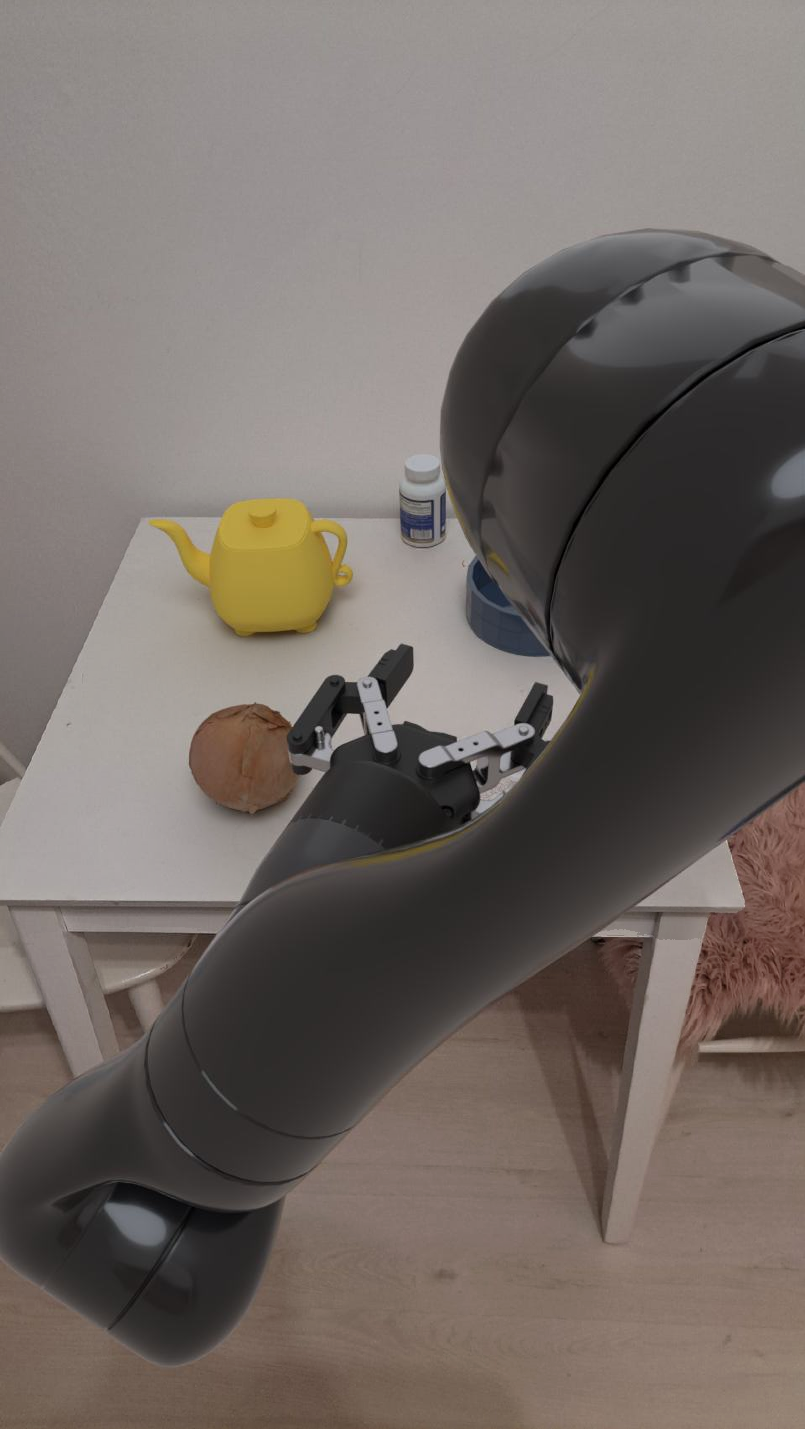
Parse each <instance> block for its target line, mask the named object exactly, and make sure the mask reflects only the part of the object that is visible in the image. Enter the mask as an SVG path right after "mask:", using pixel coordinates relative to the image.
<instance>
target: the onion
mask: <svg viewBox="0 0 805 1429" xmlns="http://www.w3.org/2000/svg"><path fill="white" fill-rule="evenodd" d="M292 727H293V726H292V723H291V721H288V720H287V719H286V718H285V717H284V716H283V715H282V714H281V712H280V711H278V710H273V709H271V707H269V706H268V705H265V704H263V703H257V702H256V701H254V702H253V703H251V704H250V703H248V704H247V703H243V704H237V705H233V706H229V707H226V708H222V709H220V710H218V711H214V712H213V713H211V714H210V715H208V716H207V717H206V718H205V719H204V720H203V721H202V722H201V723H200V724H199V725H198V727H197V729H196V730H195V732H194V734H193V736H192V739H191V742H190V746H189V752H188V766H189V769H190V773H191V775H192V777H193V779H194V781H195V783H196V785H197V786H198V787H199V788H200V790H201V791H202V792H203V793H204V794H205V795H206V796H207V797H209V798H210V799H211V800H213V801H214V802H215V803H216V805H217V804H219V805H221V806H223V807H226V808H228V809H232V810H234V811H240V812H241V813H242V814H245V813H248V812H249V814H251V815H253V814H255V813H256V811H259V810H262V809H265V808H268V807H270V806H272V805H278V804H279V803H281V802H283V801H284V800H286V799H287V798H289V797H290V796H291V792H292V791H293V787H294V786H295V783H296V782H297V780H298V778H299V776H300V775H297V774H295V773H293V771H292V770H291V763H290V759H289V753H288V745H287V739H286V737H287V734H288V733H289V731H290V730H291V729H292Z"/></svg>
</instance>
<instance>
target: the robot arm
mask: <svg viewBox="0 0 805 1429" xmlns="http://www.w3.org/2000/svg"><path fill="white" fill-rule="evenodd" d="M439 413H440V414H439V419H440V420H439V452H440V461H441V462H440V464H441V470H442V474H443V478H444V480H445V484H446V491H447V493H448V496H449V500H450V502H451V506H452V508H453V511H454V512H453V513H454V515H455V517H456V519H457V521H458V523H459V525H460V528H461V531H462V533H463V535H464V538H465V539H466V541H467V543H468V545H469V546H470V548H471V550H472V551H473V553H474V555H475V556H477V558H478V559H479V561H480V562H481V564H482V565H483V567H484V569H485V570H486V572H487V573H488V575H489V576H490V578H491V579H492V581H493V582H494V583H495V584H496V585H497V586H498V587H499V588H500V589H501V591H502V592H503V594H504V595H505V597H506V598H507V600H508V601H509V602H510V603H511V605H512V606H513V607H514V609H515V610H516V611H517V613H518V614H519V615H520V616H521V618H522V619H523V620H524V622H525V623H526V624H527V625H528V627H529V628H530V629H531V631H532V632H533V633H534V635H535V636H536V637H537V638H538V640H539V641H540V642H541V644H542V645H543V646H544V648H545V649H546V650H547V651H548V653H549V654H550V657H551V658H552V660H553V661H554V662H555V663H556V664H557V666H558V667H559V668H560V670H561V671H562V672H563V673H564V675H565V676H566V678H567V679H568V681H569V682H570V683H571V684H572V686H573V687H574V689H575V690H576V691H577V693H578V694H579V696H578V698H577V700H576V702H575V704H574V705H573V707H572V709H571V711H570V712H569V714H568V715H567V716H566V718H565V720H564V721H563V722H562V724H561V725H560V727H559V728H558V729H557V731H556V732H555V734H554V735H553V736H552V737H551V739H550V740H544V739H543V738H544V735H545V733H546V731H547V729H548V728H549V725H550V724H551V722H552V718H553V717H552V716H553V708H554V695H552V694H549V693H548V689H549V685H548V684H544V683H541V682H538V681H535V682H534V683H533V686H532V687H531V689H530V691H529V693H528V694H527V696H526V698H525V699H524V701H523V704H522V705H521V707H520V708H519V711H518V712H517V714H516V716H515V718H514V720H513V721H514V722H513V725H511V726H509V727H506V728H504V729H502V730H499V731H496V732H494V733H491V732H490V731H488V730H483V731H480V732H478V733H475V734H473V735H470V736H468V737H465V738H462V739H460V740H458V737H457V736H455V735H452V734H449V733H446V732H440V731H430V730H428V729H427V728H425V727H423V726H421V725H419V724H417V723H414V722H411V721H407V720H404V721H403V723H395V724H392V722H391V719H390V718H391V717H390V715H389V711H388V709H389V707H390V706H391V704H392V703H393V702H394V700H395V699H396V697H397V696H398V694H399V692H400V691H401V690H402V689H403V687H404V686H405V684H406V683H407V682H408V680H409V679H410V677H411V676H412V674H413V671H414V666H415V662H414V660H415V657H414V647H413V646H412V645H408V644H405V643H400V644H399V645H398V646H397V648H396V649H392V648H391V649H388V650H387V651H385V652H384V654H383V655H382V656H381V657H380V659H378V661H377V663H376V664H375V665H374V666H373V668H372V669H371V670H370V672H369V674H368V675H367V676H363V677H361V678H359V679H357V681H346V679H345V677H344V676H342V675H340V674H331V675H329V676H327V677H325V679H324V680H323V682H322V683H321V685H320V686H319V687H318V688H317V690H316V692H315V693H314V695H313V696H312V698H311V699H310V700H309V702H308V704H307V705H306V706H305V708H304V709H303V710H302V712H301V713H300V716H299V717H298V718H297V720H296V721H295V723H294V724H293V726H292V729H291V730H290V731H289V733H288V734H287V737H286V739H287V745H288V753H289V759H290V763H291V770H292V771H293V773H295V774H297V775H299V776H305V775H307V774H309V773H311V772H312V770H316V771H319V772H324V774H322V776H321V777H320V779H319V780H318V782H317V783H316V784H315V786H314V787H313V789H312V790H311V792H310V793H309V794H308V796H307V797H306V798H305V800H304V801H303V802H302V804H301V805H300V807H299V808H298V810H297V811H296V813H295V814H294V815H293V817H292V818H291V819H290V821H289V822H288V824H287V825H286V826H285V828H284V830H283V831H282V832H281V834H280V835H279V836H278V838H277V839H276V841H275V842H274V844H273V845H272V846H271V847H270V849H269V851H268V852H267V853H266V855H265V856H264V857H263V859H262V860H261V861H260V863H259V864H258V866H257V868H256V869H255V871H254V873H253V874H252V876H251V878H250V880H249V882H248V884H247V887H246V888H245V891H244V892H243V894H242V896H241V898H240V900H238V902H237V904H236V905H235V907H234V909H233V910H232V912H231V913H230V914H229V916H228V917H227V918H226V921H224V923H223V924H222V926H221V927H220V929H219V930H218V931H217V933H216V934H215V935H214V937H213V939H212V940H211V941H210V943H209V944H208V945H207V947H206V948H205V950H204V951H203V953H202V954H201V956H200V957H199V958H198V960H197V961H196V963H195V964H194V966H193V967H192V969H191V970H190V971H189V973H188V974H187V976H186V977H185V979H184V980H183V981H182V983H181V984H180V985H179V987H178V988H177V989H176V991H175V993H174V994H173V995H172V996H171V998H170V999H169V1001H168V1002H167V1003H166V1005H165V1006H164V1008H163V1009H162V1011H161V1012H160V1014H159V1015H158V1016H157V1017H156V1019H155V1020H154V1021H153V1023H152V1024H151V1026H149V1028H148V1029H147V1030H146V1032H144V1033H143V1034H142V1035H141V1036H140V1037H139V1038H137V1040H135V1041H133V1042H132V1043H131V1044H130V1045H128V1046H126V1047H125V1048H124V1049H122V1050H120V1051H119V1052H117V1053H115V1054H113V1055H111V1056H110V1057H109V1058H106V1059H104V1060H103V1061H101V1062H100V1063H97V1064H95V1065H94V1066H93V1067H91V1068H88V1070H86V1071H85V1072H82V1073H81V1074H80V1075H78V1076H77V1077H75V1078H73V1079H72V1080H71V1081H69V1082H68V1083H66V1084H65V1085H64V1086H62V1087H60V1089H58V1090H57V1091H56V1092H54V1093H53V1094H52V1095H51V1096H49V1097H48V1098H46V1100H44V1102H42V1103H41V1104H40V1105H39V1106H37V1108H36V1109H34V1110H33V1112H32V1113H31V1114H30V1115H29V1116H27V1117H26V1119H25V1120H24V1121H23V1122H22V1123H21V1124H20V1125H19V1127H18V1128H17V1129H16V1130H15V1131H14V1132H13V1134H12V1135H11V1137H10V1138H9V1140H8V1141H7V1142H6V1143H5V1145H4V1147H3V1148H2V1150H1V1151H0V1260H1V1261H2V1262H3V1264H5V1265H6V1266H7V1267H8V1268H9V1269H11V1270H12V1271H13V1272H14V1273H15V1274H17V1275H19V1276H20V1277H22V1278H23V1279H25V1281H27V1282H29V1283H30V1284H31V1285H33V1286H35V1287H36V1288H38V1289H41V1291H42V1292H44V1293H45V1294H46V1295H48V1296H49V1297H51V1298H53V1299H54V1300H55V1301H57V1302H58V1303H60V1304H61V1305H62V1306H65V1307H66V1308H67V1309H69V1310H70V1311H72V1312H73V1313H75V1314H77V1315H78V1316H79V1317H81V1318H82V1319H84V1320H85V1321H87V1322H88V1323H90V1324H91V1325H93V1326H94V1327H95V1328H97V1329H99V1330H101V1331H104V1332H105V1334H106V1335H107V1336H108V1337H110V1338H111V1339H113V1340H114V1341H115V1342H117V1343H119V1344H120V1345H121V1346H123V1347H124V1348H125V1349H127V1350H128V1351H130V1352H132V1353H133V1354H134V1355H136V1356H138V1357H140V1358H141V1359H143V1360H144V1361H146V1362H148V1363H150V1364H152V1365H155V1366H157V1367H161V1368H176V1369H177V1368H180V1367H185V1366H189V1365H191V1364H193V1363H195V1362H197V1361H198V1360H201V1359H203V1358H205V1357H206V1356H207V1355H209V1354H210V1353H212V1352H213V1351H215V1349H217V1348H218V1347H220V1346H221V1345H222V1344H224V1342H226V1340H227V1339H228V1338H230V1337H231V1336H232V1334H233V1333H234V1332H235V1331H236V1329H237V1328H238V1327H239V1326H240V1325H241V1323H242V1322H243V1320H244V1319H245V1318H246V1316H247V1315H248V1313H249V1311H250V1309H251V1308H252V1306H253V1305H254V1303H255V1300H256V1298H257V1297H258V1294H259V1292H260V1290H261V1288H262V1285H263V1282H264V1280H265V1277H266V1274H267V1272H268V1268H269V1265H270V1261H271V1258H272V1255H273V1252H274V1248H275V1245H276V1241H277V1239H278V1233H279V1230H280V1224H281V1221H282V1216H283V1212H284V1207H285V1203H286V1198H287V1195H288V1194H289V1193H290V1192H292V1191H293V1190H294V1189H296V1188H297V1187H298V1186H299V1185H300V1184H301V1183H302V1182H303V1181H304V1180H305V1179H306V1178H308V1176H309V1175H311V1173H313V1171H314V1170H316V1168H317V1167H318V1166H319V1165H320V1164H321V1163H322V1162H323V1161H324V1160H325V1159H326V1158H327V1157H328V1156H329V1155H330V1154H331V1153H332V1152H333V1151H334V1149H336V1147H338V1146H339V1144H341V1142H342V1141H343V1140H344V1139H346V1137H348V1135H349V1134H350V1133H351V1132H352V1131H353V1130H354V1129H355V1128H356V1127H357V1126H358V1125H359V1124H360V1123H361V1122H362V1121H363V1120H364V1119H365V1118H367V1116H369V1114H370V1113H371V1112H372V1111H373V1109H375V1107H376V1106H377V1105H378V1104H379V1103H381V1101H382V1100H383V1099H384V1098H385V1097H386V1096H387V1095H388V1093H390V1091H391V1090H392V1089H393V1088H394V1087H396V1086H397V1085H398V1084H399V1083H400V1082H401V1081H402V1080H403V1079H404V1078H406V1077H407V1076H408V1075H409V1073H411V1072H412V1071H413V1070H414V1069H415V1068H416V1067H417V1066H418V1065H419V1064H421V1063H422V1062H423V1061H424V1060H425V1059H426V1058H427V1057H428V1056H430V1055H431V1054H432V1053H433V1052H434V1051H436V1050H437V1049H438V1048H439V1047H440V1046H442V1045H443V1044H444V1043H445V1042H447V1040H449V1039H450V1038H451V1037H452V1036H453V1035H455V1034H456V1033H458V1032H459V1031H460V1030H461V1029H463V1028H464V1027H465V1026H467V1025H468V1024H470V1023H471V1022H473V1020H475V1019H476V1018H477V1017H478V1016H480V1015H481V1014H483V1013H484V1012H485V1011H486V1010H488V1009H490V1008H491V1007H493V1006H494V1005H496V1004H497V1003H498V1002H500V1001H501V1000H502V999H504V998H505V997H507V996H508V995H510V994H512V993H513V992H515V991H516V990H517V989H518V988H520V987H522V985H524V984H526V983H527V982H528V981H530V980H531V979H533V978H534V977H535V976H537V975H539V974H540V973H542V972H543V971H545V970H546V969H549V967H550V966H552V965H553V964H555V963H557V962H558V961H559V960H561V959H563V958H564V957H565V956H567V955H568V954H569V953H571V952H572V951H574V950H575V949H577V948H578V947H580V946H581V945H583V944H584V943H585V942H586V941H588V940H590V939H591V938H593V937H594V936H595V935H597V934H598V933H601V931H603V930H604V929H605V928H607V927H608V926H610V925H611V924H613V922H615V921H617V920H618V919H620V918H621V917H622V916H623V915H625V914H627V913H628V912H629V911H631V910H632V909H633V908H635V907H636V906H637V905H639V904H640V903H642V902H643V901H644V900H646V899H647V898H648V897H650V896H651V895H653V894H654V893H655V892H657V891H658V890H659V889H661V888H662V887H664V886H665V885H666V884H668V883H669V882H670V881H672V880H674V878H676V877H677V876H679V875H680V874H681V873H683V872H684V871H686V870H687V869H689V868H690V867H691V866H692V865H694V864H695V863H697V862H698V861H699V860H700V859H702V858H703V857H704V856H706V855H708V854H709V853H710V852H712V851H713V850H715V848H716V849H717V847H718V846H720V845H721V844H723V843H724V842H726V841H727V840H728V839H729V838H731V837H732V836H734V835H735V834H736V833H738V832H739V831H740V830H742V829H744V828H745V827H746V826H748V825H749V824H751V823H752V822H753V821H755V820H756V819H757V818H759V817H760V816H761V815H763V814H764V813H765V812H767V811H768V810H770V809H771V808H772V807H773V806H775V805H776V804H778V803H779V802H781V801H782V800H783V799H785V798H786V797H787V796H788V795H790V794H791V793H792V792H795V790H797V789H798V788H799V787H801V786H802V785H804V784H805V274H803V273H802V272H800V271H798V270H797V269H795V268H793V267H792V266H789V265H786V264H784V263H782V262H781V261H779V260H778V259H776V258H774V257H773V256H771V255H769V254H768V253H766V252H764V251H762V250H760V249H758V248H756V247H755V246H752V245H750V244H747V243H744V242H742V241H738V240H734V239H731V238H726V237H723V236H719V235H714V234H711V233H707V232H703V231H700V230H693V229H675V228H657V227H655V228H653V227H647V228H640V229H633V230H626V231H621V232H613V233H607V234H602V235H599V236H596V237H594V238H593V237H592V238H591V239H588V240H585V241H583V242H580V243H577V244H574V245H572V246H569V247H566V248H563V249H561V250H559V251H557V252H556V253H554V254H552V255H551V256H549V257H547V258H545V259H544V260H542V261H540V262H539V263H536V265H533V266H532V267H530V268H528V269H527V270H525V271H523V272H522V273H521V274H520V275H519V276H518V277H517V278H515V279H514V280H513V281H511V283H510V284H509V285H508V286H506V287H505V288H504V289H503V290H502V291H501V292H499V293H498V294H497V295H496V296H495V297H494V298H493V299H492V300H491V301H490V302H489V304H488V305H487V306H486V307H485V308H484V309H483V312H481V314H480V315H479V317H478V318H477V320H476V321H475V322H474V323H473V325H472V326H471V328H470V329H469V330H468V331H467V333H466V335H465V336H464V338H463V340H462V342H461V344H460V346H459V347H458V350H457V351H456V354H455V357H454V359H453V362H452V365H451V366H450V369H449V372H448V377H447V381H446V384H445V388H444V393H443V398H442V402H441V406H440V412H439ZM348 714H351V715H359V719H360V723H361V727H362V731H363V735H362V736H359V737H357V738H354V739H352V740H350V741H347V742H344V743H342V744H340V745H339V746H336V748H333V744H332V739H333V737H334V736H335V734H336V733H337V731H338V729H339V728H340V726H341V724H342V723H343V721H344V720H345V718H346V717H347V715H348ZM474 761H476V765H475V767H474V769H473V766H472V764H471V763H472V762H474ZM524 769H526V770H525V772H524V773H523V775H522V776H521V778H520V780H519V781H518V782H517V783H516V784H515V785H514V786H513V787H512V788H508V787H505V788H503V789H502V791H503V792H502V793H500V794H498V795H497V796H496V797H495V798H494V799H492V800H489V799H482V798H481V794H483V793H486V792H488V791H490V790H492V789H493V790H494V788H496V787H497V786H498V785H499V783H500V782H501V780H503V779H505V778H507V776H510V775H512V774H514V773H517V772H519V771H522V770H524Z"/></svg>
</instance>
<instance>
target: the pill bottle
mask: <svg viewBox="0 0 805 1429" xmlns="http://www.w3.org/2000/svg"><path fill="white" fill-rule="evenodd" d="M440 461H441V460H439V458H438V457H437V456H434V455H432V454H427V453H419V454H414V455H411V456H409V457H408V458H406V460H405V461H404V475H403V477H402V478H401V479H400V480H399V485H398V495H399V519H400V520H399V521H400V522H399V523H400V535H401V539H402V541H403V542H405V543H406V544H407V545H409V546H411V547H415V548H429V547H433V546H436V545H438V544H440V543H441V542H442V541H443V540H445V537H446V533H447V532H446V531H447V487H446V484H445V479H444V476H442V475H441V462H440Z"/></svg>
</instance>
